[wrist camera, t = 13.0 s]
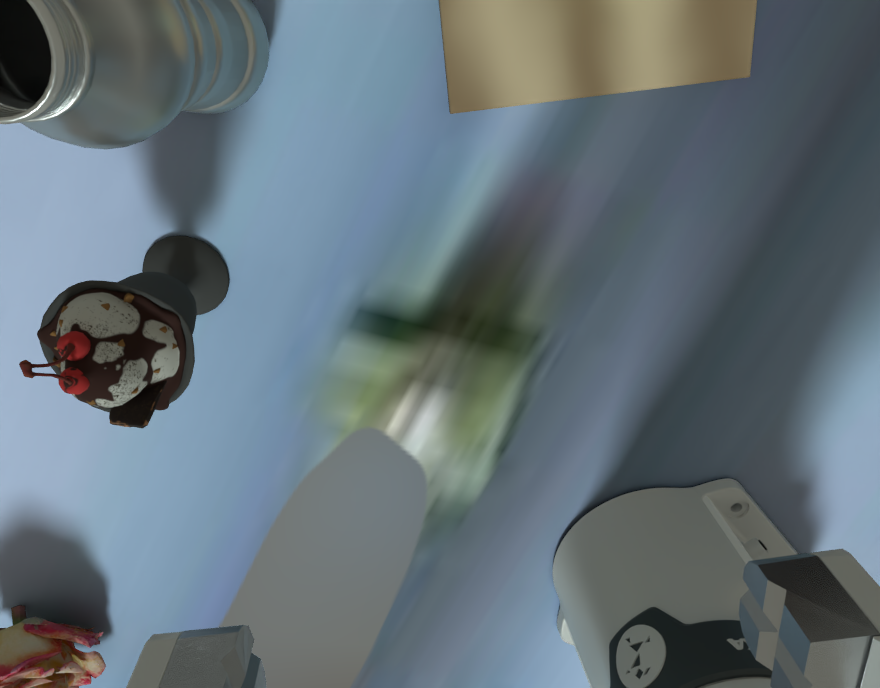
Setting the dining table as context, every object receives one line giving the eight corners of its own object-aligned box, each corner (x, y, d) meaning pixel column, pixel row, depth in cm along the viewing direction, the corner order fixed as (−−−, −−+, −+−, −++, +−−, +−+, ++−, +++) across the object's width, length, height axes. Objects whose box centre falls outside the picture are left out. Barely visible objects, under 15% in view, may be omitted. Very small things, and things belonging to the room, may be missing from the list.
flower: (-65, 646, 47) (-62, 763, 43) (-43, 588, 42) (-37, 713, 38) (81, 616, 54) (95, 715, 50) (113, 563, 49) (132, 667, 45)
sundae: (137, 203, 36) (-23, 303, 22) (256, 244, 37) (173, 361, 24) (117, 306, 38) (-38, 451, 25) (229, 340, 40) (140, 496, 26)
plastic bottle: (245, 133, 35) (74, 236, 17) (122, 60, 33) (-220, 86, 15) (300, 20, 32) (172, -4, 14) (172, -65, 31) (-159, -215, 12)
